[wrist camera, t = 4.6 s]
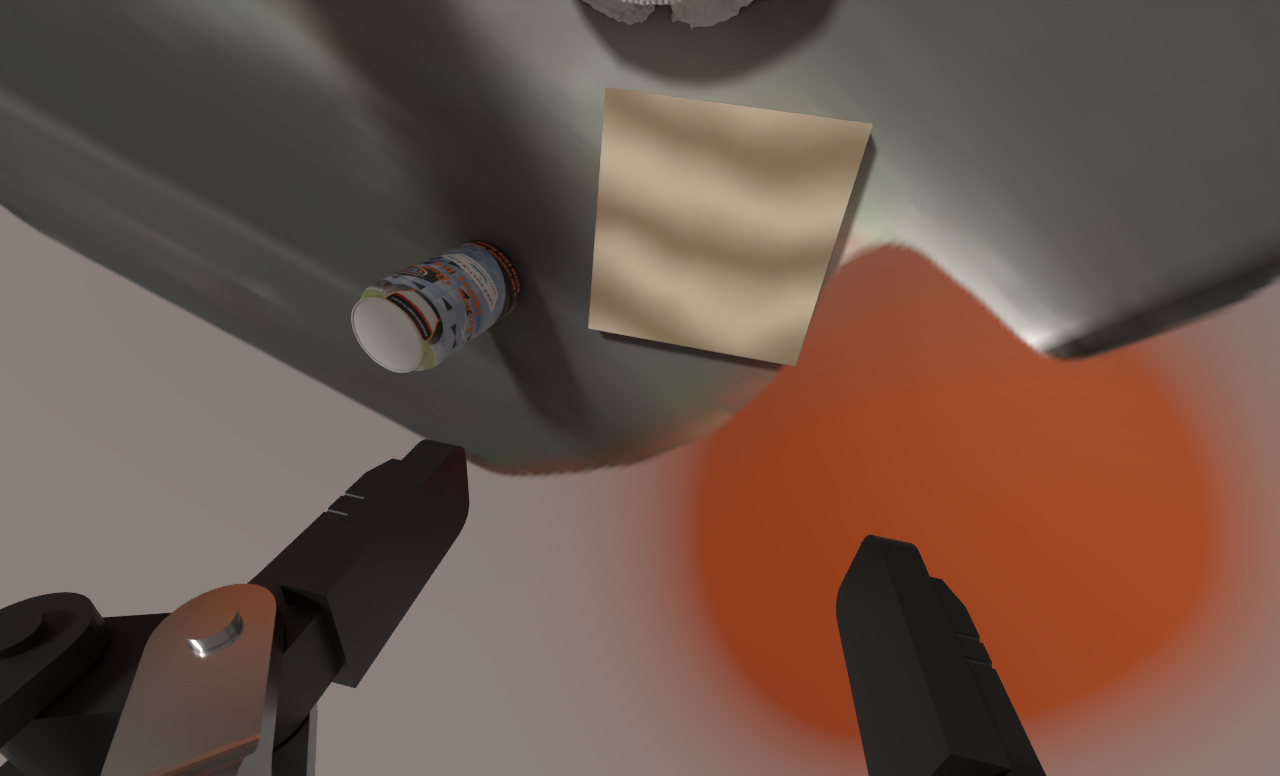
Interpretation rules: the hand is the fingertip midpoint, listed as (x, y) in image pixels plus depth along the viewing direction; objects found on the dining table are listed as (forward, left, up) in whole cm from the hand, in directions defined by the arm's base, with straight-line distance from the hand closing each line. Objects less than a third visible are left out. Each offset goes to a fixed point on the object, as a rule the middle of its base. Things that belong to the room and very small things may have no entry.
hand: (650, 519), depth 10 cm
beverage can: (+6, -17, -28) cm, 34 cm away
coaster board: (0, 0, -28) cm, 28 cm away
